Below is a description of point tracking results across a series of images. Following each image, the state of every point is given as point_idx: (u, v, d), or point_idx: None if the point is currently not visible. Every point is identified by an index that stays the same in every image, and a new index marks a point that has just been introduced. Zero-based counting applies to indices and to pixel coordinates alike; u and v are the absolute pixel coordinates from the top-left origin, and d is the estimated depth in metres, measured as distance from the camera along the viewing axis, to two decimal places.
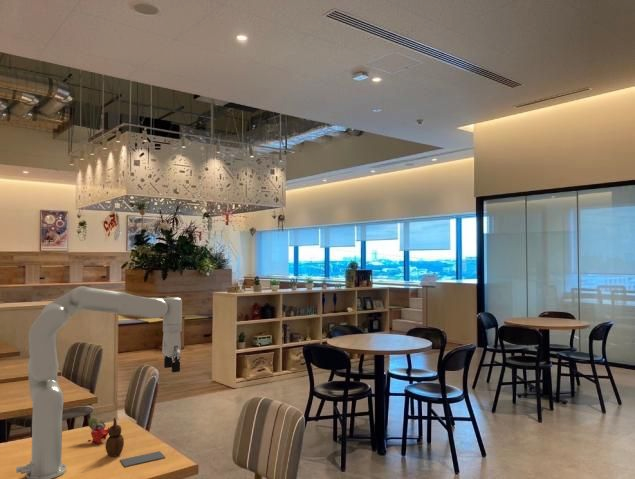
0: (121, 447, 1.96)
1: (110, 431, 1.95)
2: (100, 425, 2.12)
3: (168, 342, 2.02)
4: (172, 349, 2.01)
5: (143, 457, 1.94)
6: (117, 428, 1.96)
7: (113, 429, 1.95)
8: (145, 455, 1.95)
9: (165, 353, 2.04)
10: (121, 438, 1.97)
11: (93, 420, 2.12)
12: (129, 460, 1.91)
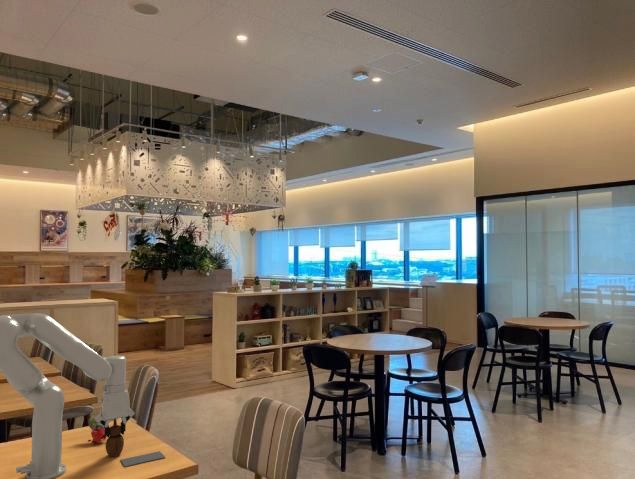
0: (121, 447, 1.96)
1: (110, 431, 1.95)
2: (100, 425, 2.12)
3: (127, 401, 1.97)
4: (129, 407, 1.99)
5: (143, 457, 1.94)
6: (117, 428, 1.96)
7: (113, 429, 1.95)
8: (145, 455, 1.95)
9: (117, 415, 1.95)
10: (121, 438, 1.97)
11: (93, 420, 2.12)
12: (129, 460, 1.91)
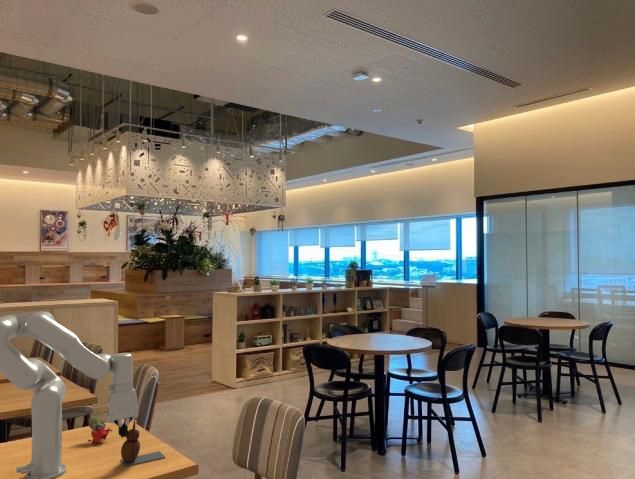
0: (136, 453, 1.89)
1: (128, 434, 1.89)
2: (100, 425, 2.12)
3: (134, 400, 1.89)
4: (137, 406, 1.90)
5: (143, 457, 1.94)
6: (136, 432, 1.90)
7: (132, 433, 1.89)
8: (145, 455, 1.95)
9: (125, 415, 1.87)
10: (138, 443, 1.90)
11: (93, 420, 2.12)
12: None
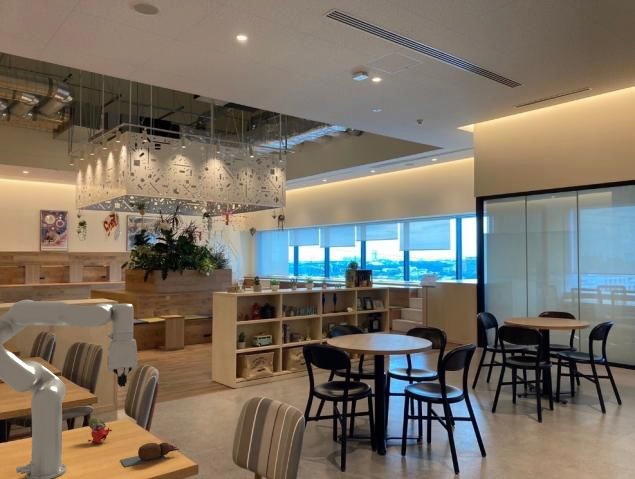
0: None
1: (167, 448, 1.94)
2: (100, 425, 2.12)
3: (134, 351, 1.89)
4: (137, 357, 1.91)
5: None
6: (167, 453, 1.95)
7: (168, 451, 1.94)
8: None
9: (124, 365, 1.87)
10: None
11: (93, 420, 2.12)
12: (129, 460, 1.91)
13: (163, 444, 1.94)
